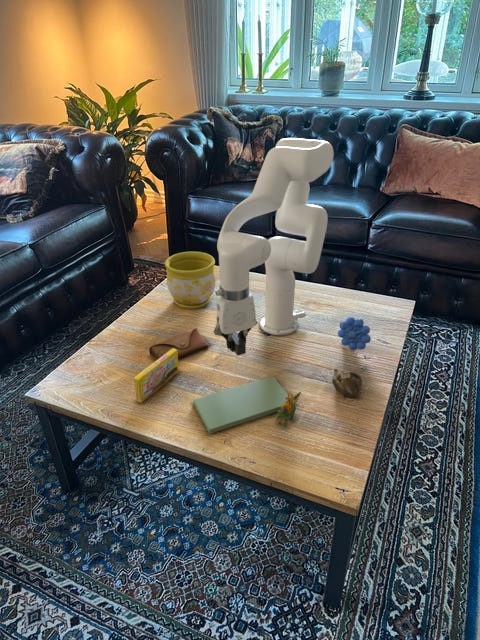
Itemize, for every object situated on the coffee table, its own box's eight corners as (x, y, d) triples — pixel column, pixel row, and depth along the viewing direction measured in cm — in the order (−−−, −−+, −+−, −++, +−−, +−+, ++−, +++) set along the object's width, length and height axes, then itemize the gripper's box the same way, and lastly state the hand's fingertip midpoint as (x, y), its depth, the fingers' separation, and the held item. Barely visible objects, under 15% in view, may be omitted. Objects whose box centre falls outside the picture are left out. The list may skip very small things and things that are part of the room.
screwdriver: (245, 353, 123) (245, 342, 121) (237, 355, 122) (237, 345, 120) (224, 326, 134) (224, 316, 132) (216, 328, 133) (216, 318, 131)
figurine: (270, 429, 110) (271, 405, 106) (294, 403, 118) (296, 379, 114) (281, 435, 108) (283, 410, 104) (305, 407, 117) (307, 383, 112)
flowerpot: (175, 288, 175) (172, 250, 167) (220, 291, 173) (219, 252, 165) (163, 311, 160) (158, 270, 152) (211, 314, 158) (209, 273, 149)
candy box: (142, 404, 118) (138, 380, 114) (136, 401, 119) (132, 377, 115) (179, 372, 130) (177, 349, 126) (174, 369, 131) (171, 347, 127)
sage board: (272, 379, 127) (272, 375, 126) (293, 406, 117) (294, 401, 116) (193, 403, 118) (193, 399, 117) (209, 434, 109) (209, 429, 108)
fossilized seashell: (328, 368, 127) (327, 396, 119) (343, 356, 123) (343, 383, 115) (349, 380, 128) (350, 407, 121) (365, 368, 124) (366, 396, 117)
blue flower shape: (375, 352, 138) (381, 320, 131) (362, 361, 134) (368, 327, 128) (345, 337, 145) (350, 305, 139) (332, 344, 141) (336, 312, 135)
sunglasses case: (163, 366, 131) (155, 346, 130) (154, 367, 137) (146, 347, 136) (212, 344, 141) (204, 325, 140) (201, 345, 147) (194, 327, 146)
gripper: (211, 304, 109) (214, 362, 119) (269, 290, 115) (268, 347, 125) (200, 291, 115) (205, 348, 125) (256, 278, 121) (256, 333, 130)
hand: (236, 347), depth 125 cm, fingers closed on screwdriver, 2 cm apart
